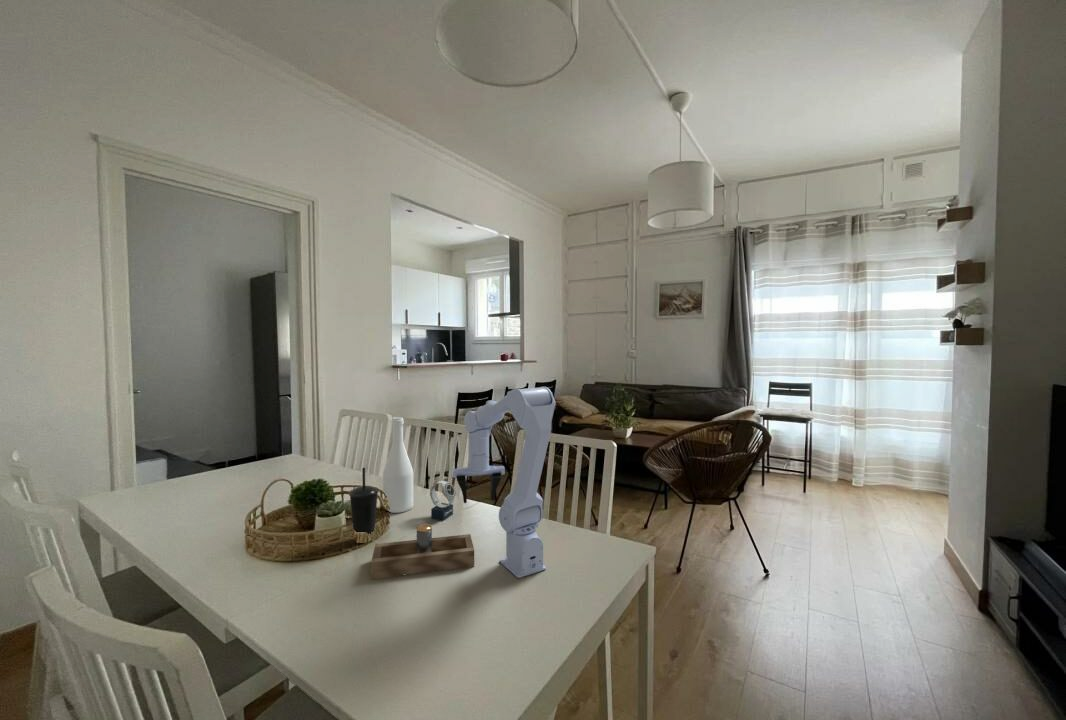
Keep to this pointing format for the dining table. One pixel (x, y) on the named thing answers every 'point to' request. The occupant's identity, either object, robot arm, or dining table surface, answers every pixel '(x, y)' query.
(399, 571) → the trough
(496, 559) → the dining table surface
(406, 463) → the wine bottle
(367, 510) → the drinking cup
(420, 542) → the battery cell
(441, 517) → the watch
